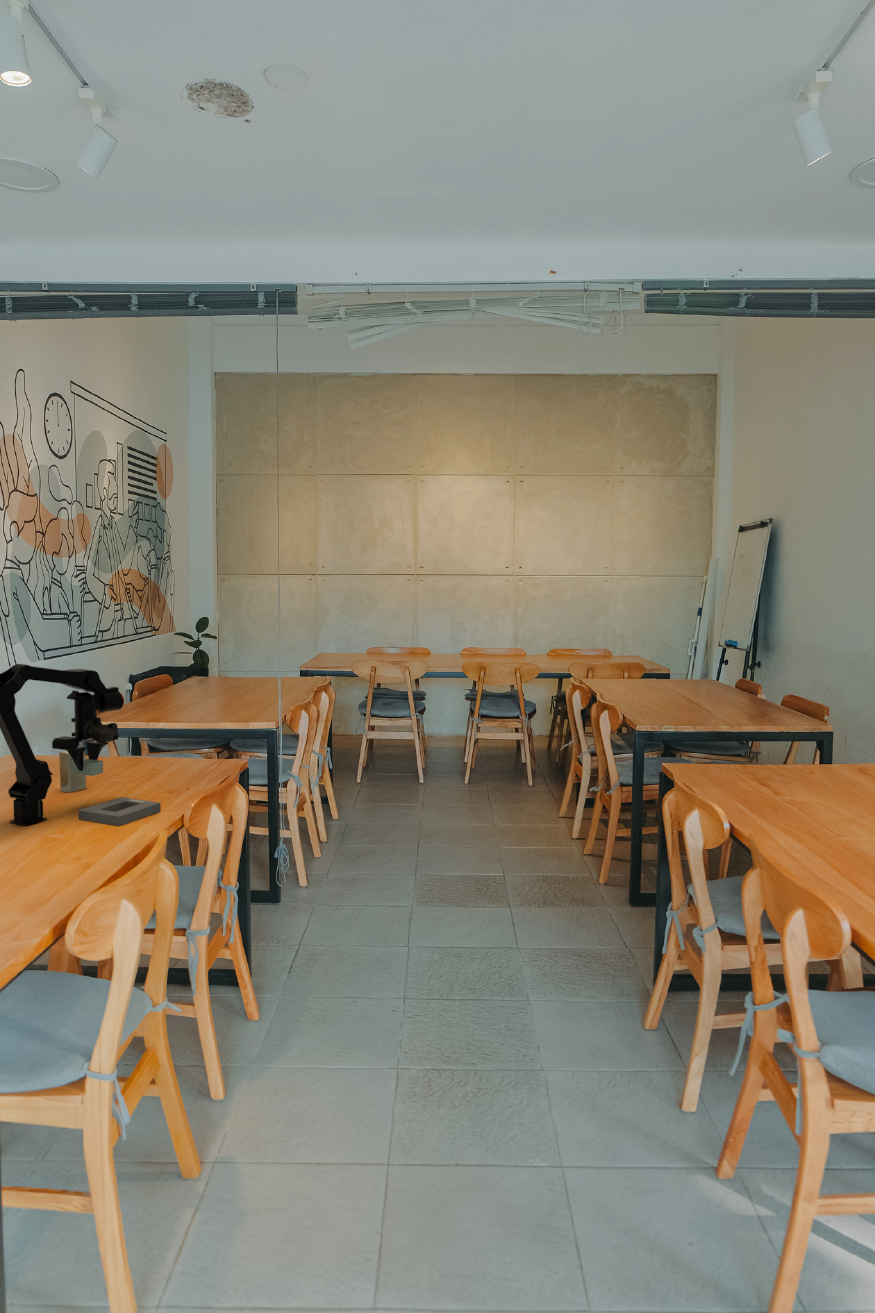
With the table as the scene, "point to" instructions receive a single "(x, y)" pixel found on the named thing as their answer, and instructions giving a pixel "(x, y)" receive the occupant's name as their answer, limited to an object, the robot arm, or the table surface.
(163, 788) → the table surface
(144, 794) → the table surface
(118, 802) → the socket board
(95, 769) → the key block
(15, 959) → the table surface
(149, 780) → the table surface
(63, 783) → the skincare box
